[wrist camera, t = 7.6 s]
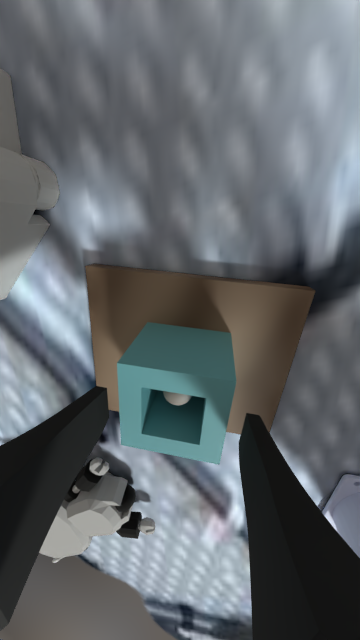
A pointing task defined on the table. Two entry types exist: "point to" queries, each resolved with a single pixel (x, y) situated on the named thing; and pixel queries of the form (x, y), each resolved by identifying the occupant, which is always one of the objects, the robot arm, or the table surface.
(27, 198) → the hinge
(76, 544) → the robot toy
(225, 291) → the stub base
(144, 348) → the collar
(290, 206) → the table surface
